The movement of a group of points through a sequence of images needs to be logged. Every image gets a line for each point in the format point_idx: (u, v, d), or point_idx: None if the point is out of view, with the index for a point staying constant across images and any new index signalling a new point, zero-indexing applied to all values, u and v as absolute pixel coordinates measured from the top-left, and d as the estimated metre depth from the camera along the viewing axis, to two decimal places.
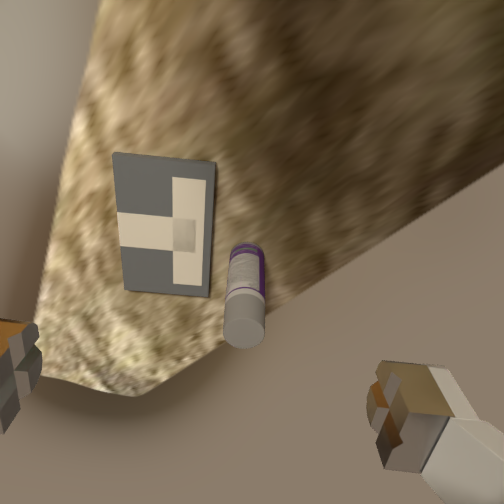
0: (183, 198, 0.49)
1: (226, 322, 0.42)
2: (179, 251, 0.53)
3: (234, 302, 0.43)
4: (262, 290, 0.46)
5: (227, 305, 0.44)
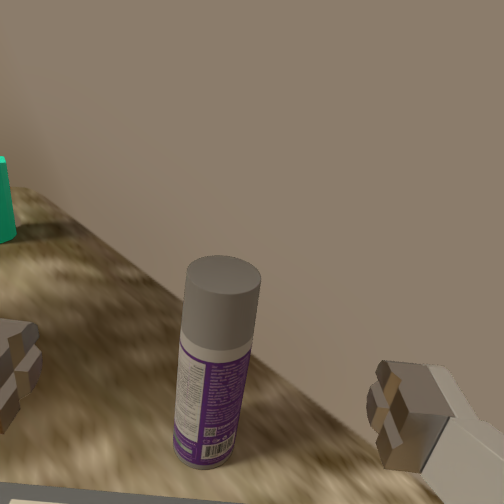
0: None
1: (201, 294, 0.22)
2: None
3: (187, 320, 0.23)
4: None
5: (197, 333, 0.23)
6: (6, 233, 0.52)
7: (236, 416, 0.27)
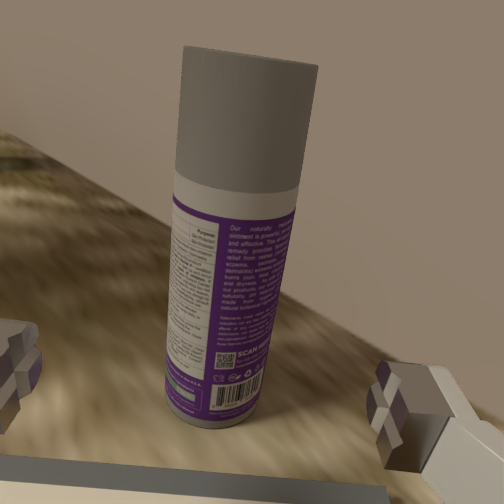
0: None
1: (212, 65, 0.11)
2: None
3: (184, 141, 0.13)
4: None
5: (205, 158, 0.12)
6: None
7: (266, 339, 0.17)
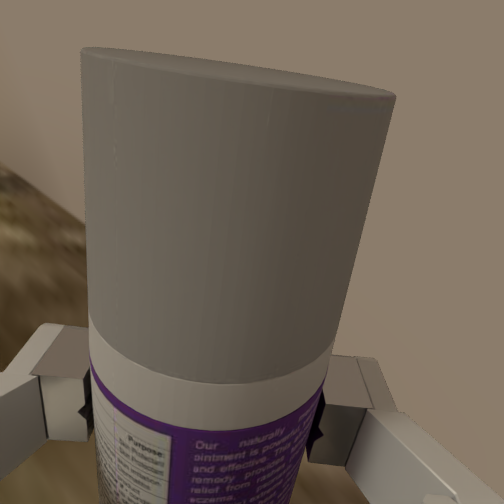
0: None
1: (132, 102, 0.04)
2: None
3: (93, 260, 0.06)
4: None
5: (132, 311, 0.05)
6: None
7: None
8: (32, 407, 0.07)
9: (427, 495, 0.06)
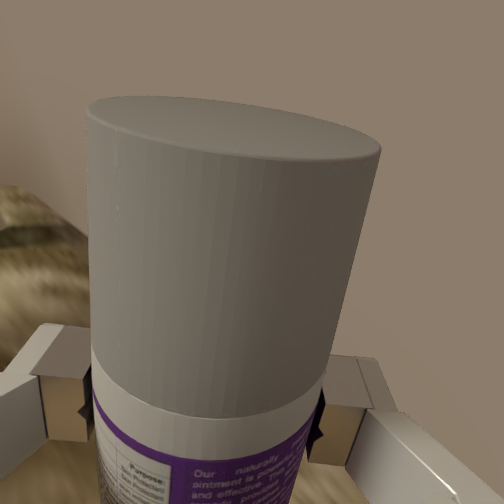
0: None
1: (135, 167, 0.05)
2: None
3: (97, 300, 0.06)
4: None
5: (134, 352, 0.06)
6: None
7: None
8: (32, 407, 0.07)
9: (427, 495, 0.06)
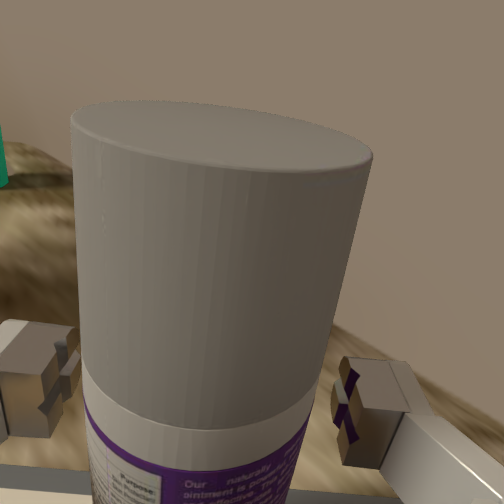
0: None
1: (119, 178, 0.04)
2: None
3: None
4: None
5: (122, 363, 0.06)
6: None
7: None
8: None
9: (474, 499, 0.06)
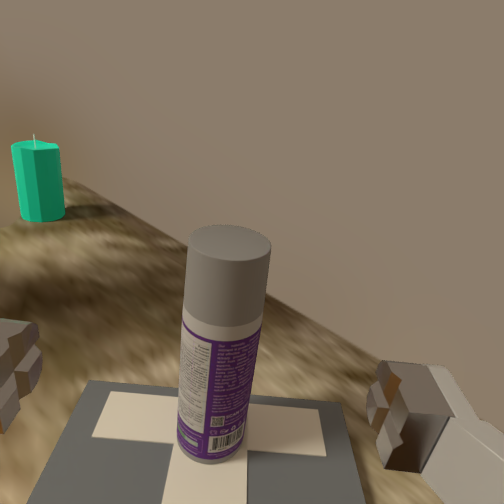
0: (136, 422, 0.28)
1: (205, 262, 0.20)
2: (247, 438, 0.28)
3: (190, 294, 0.21)
4: None
5: (202, 308, 0.21)
6: (58, 211, 0.59)
7: (245, 404, 0.25)
8: None
9: None
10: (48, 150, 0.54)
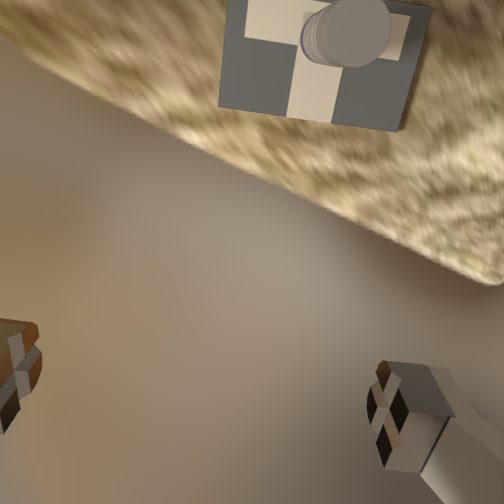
0: (272, 25, 0.39)
1: (334, 60, 0.28)
2: None
3: (320, 48, 0.29)
4: (329, 4, 0.31)
5: (328, 61, 0.30)
6: None
7: None
8: None
9: None
10: None
